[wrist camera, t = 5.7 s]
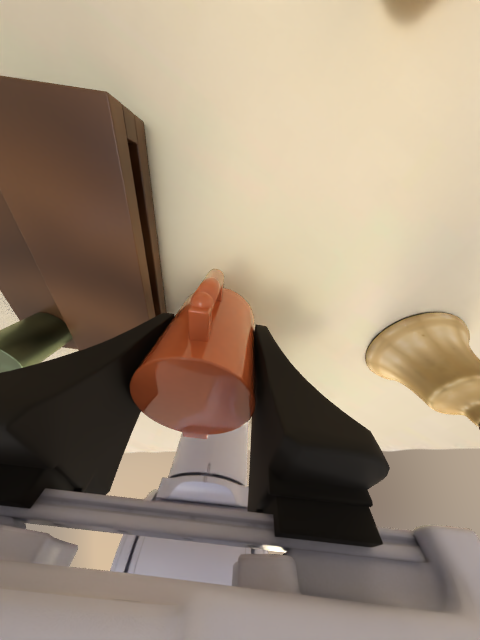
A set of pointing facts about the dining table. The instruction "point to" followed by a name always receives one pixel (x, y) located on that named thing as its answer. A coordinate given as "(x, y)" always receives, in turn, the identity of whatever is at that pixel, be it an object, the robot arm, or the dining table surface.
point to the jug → (201, 365)
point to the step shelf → (76, 211)
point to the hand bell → (431, 362)
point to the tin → (31, 341)
